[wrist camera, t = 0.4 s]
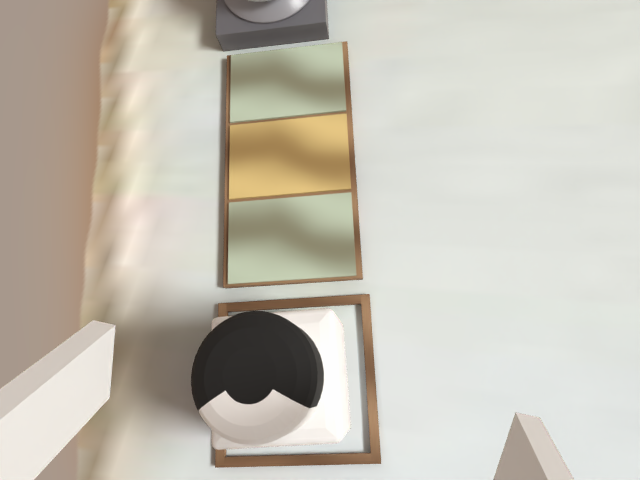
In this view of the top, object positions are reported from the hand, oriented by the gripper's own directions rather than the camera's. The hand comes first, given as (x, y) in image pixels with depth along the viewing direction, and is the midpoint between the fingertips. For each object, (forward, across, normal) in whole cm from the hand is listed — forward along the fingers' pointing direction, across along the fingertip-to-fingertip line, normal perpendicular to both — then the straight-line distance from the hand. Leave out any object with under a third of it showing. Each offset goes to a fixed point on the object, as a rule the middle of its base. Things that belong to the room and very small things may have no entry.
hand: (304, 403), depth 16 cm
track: (+24, +5, -5) cm, 25 cm away
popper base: (+32, +10, -17) cm, 37 cm away
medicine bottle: (+16, +1, +9) cm, 19 cm away
